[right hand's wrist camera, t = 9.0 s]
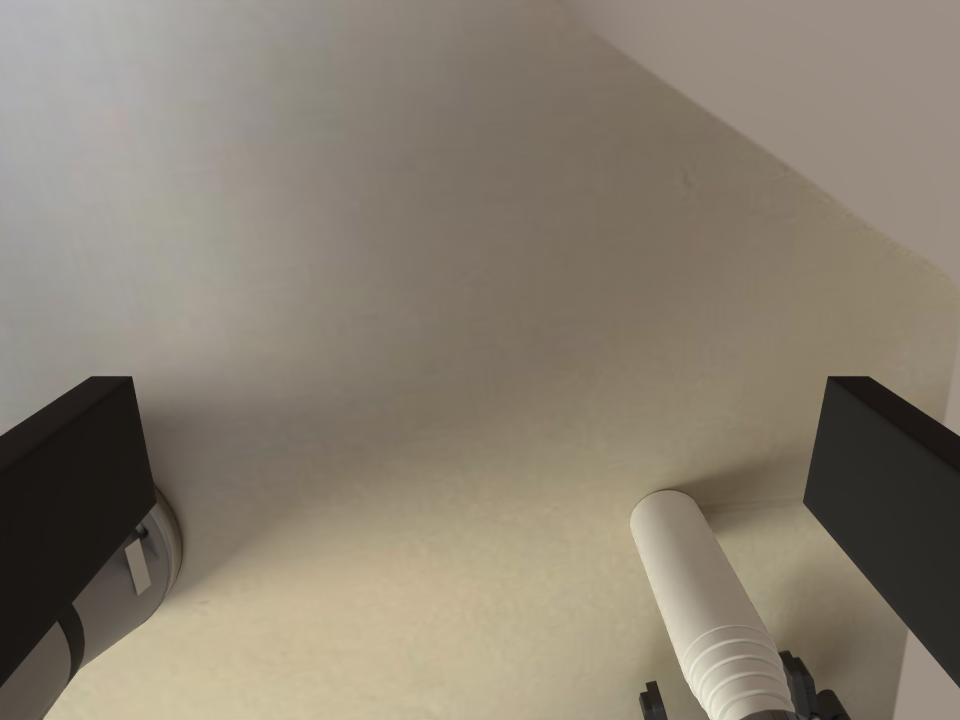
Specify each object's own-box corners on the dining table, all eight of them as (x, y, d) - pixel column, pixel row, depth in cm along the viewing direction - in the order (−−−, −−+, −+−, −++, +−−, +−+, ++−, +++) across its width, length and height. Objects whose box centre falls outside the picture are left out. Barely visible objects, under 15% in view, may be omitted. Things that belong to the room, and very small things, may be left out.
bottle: (615, 522, 44) (702, 786, 27) (667, 476, 43) (794, 721, 26) (663, 561, 46) (776, 839, 28) (715, 518, 44) (868, 780, 27)
